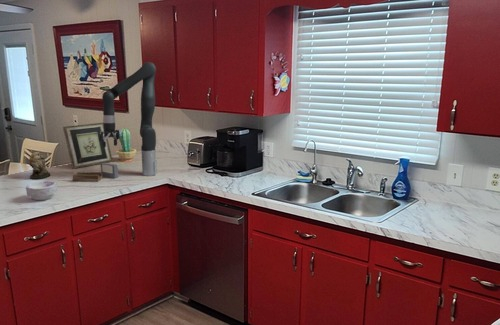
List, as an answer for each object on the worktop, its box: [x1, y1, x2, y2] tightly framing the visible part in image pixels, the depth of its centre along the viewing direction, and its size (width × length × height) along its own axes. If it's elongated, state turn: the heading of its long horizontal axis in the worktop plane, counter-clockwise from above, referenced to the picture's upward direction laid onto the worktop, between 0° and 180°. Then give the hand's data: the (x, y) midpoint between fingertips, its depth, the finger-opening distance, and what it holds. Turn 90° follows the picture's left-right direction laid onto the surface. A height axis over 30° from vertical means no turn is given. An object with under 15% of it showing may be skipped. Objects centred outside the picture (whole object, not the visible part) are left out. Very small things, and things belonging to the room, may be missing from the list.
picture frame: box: [62, 122, 114, 169], centre depth 307 cm, size 33×10×30 cm, turn 143°
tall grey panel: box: [100, 162, 119, 180], centre depth 275 cm, size 3×12×9 cm, turn 63°
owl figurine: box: [28, 151, 51, 180], centre depth 273 cm, size 18×12×17 cm, turn 17°
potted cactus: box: [116, 128, 137, 163], centre depth 323 cm, size 15×15×25 cm
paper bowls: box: [25, 180, 58, 201], centre depth 229 cm, size 15×15×8 cm
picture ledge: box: [72, 171, 104, 183], centre depth 268 cm, size 10×16×4 cm, turn 93°
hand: (109, 146), depth 273 cm, fingers open, 8 cm apart
